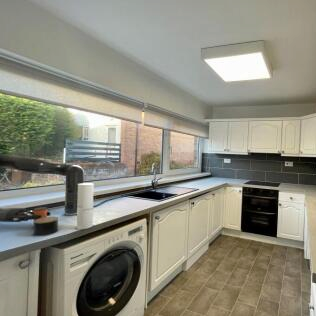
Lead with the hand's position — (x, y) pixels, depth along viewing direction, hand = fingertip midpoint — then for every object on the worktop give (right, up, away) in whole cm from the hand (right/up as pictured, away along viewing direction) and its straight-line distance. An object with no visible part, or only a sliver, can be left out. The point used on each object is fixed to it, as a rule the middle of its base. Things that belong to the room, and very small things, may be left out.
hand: (45, 215), depth 110 cm
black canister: (+7, -7, -7) cm, 12 cm away
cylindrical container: (+20, -8, +3) cm, 22 cm away
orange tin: (-3, -6, 0) cm, 7 cm away
